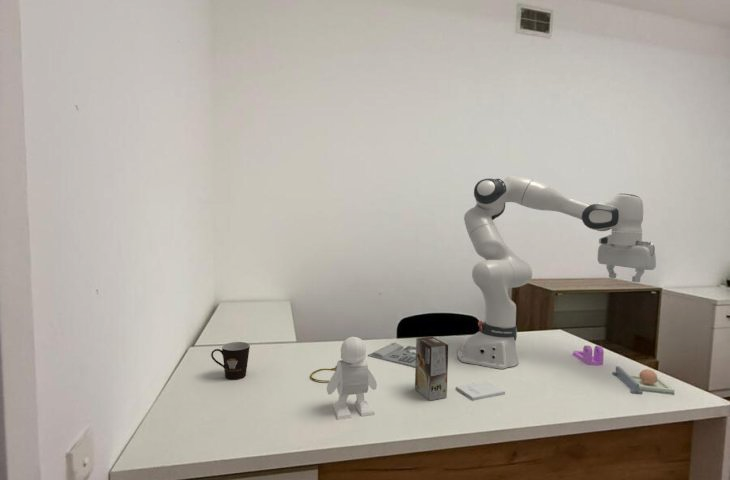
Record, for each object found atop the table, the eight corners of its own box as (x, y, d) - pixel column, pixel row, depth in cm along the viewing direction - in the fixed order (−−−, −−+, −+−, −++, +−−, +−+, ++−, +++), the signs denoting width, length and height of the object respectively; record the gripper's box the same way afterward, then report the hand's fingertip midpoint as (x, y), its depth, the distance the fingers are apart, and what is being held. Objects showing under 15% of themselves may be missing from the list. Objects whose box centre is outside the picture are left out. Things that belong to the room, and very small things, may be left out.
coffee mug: (254, 374, 127) (255, 344, 127) (236, 383, 119) (236, 352, 119) (228, 367, 132) (228, 339, 132) (208, 376, 124) (209, 346, 124)
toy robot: (330, 420, 99) (332, 344, 98) (323, 404, 107) (325, 334, 107) (381, 413, 103) (383, 340, 102) (370, 399, 112) (372, 331, 111)
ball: (641, 385, 126) (641, 370, 126) (637, 381, 130) (637, 366, 130) (659, 387, 124) (659, 372, 124) (655, 382, 128) (654, 368, 128)
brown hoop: (361, 379, 126) (361, 374, 126) (315, 387, 120) (315, 380, 120) (347, 366, 137) (347, 361, 137) (305, 372, 131) (305, 367, 131)
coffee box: (447, 397, 114) (450, 344, 113) (429, 401, 111) (431, 346, 111) (430, 385, 122) (432, 335, 122) (413, 388, 120) (415, 337, 119)
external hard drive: (504, 396, 117) (472, 402, 112) (486, 385, 125) (455, 390, 120) (505, 390, 117) (472, 396, 112) (486, 380, 125) (455, 385, 120)
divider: (631, 392, 121) (632, 383, 121) (612, 374, 136) (612, 365, 136) (642, 394, 120) (642, 384, 120) (621, 375, 136) (622, 366, 136)
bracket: (602, 365, 145) (603, 347, 145) (587, 365, 145) (588, 347, 145) (583, 354, 158) (584, 337, 158) (570, 353, 158) (571, 337, 158)
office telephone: (367, 351, 147) (392, 339, 164) (367, 358, 148) (391, 345, 164) (423, 364, 135) (443, 349, 152) (423, 371, 135) (443, 355, 152)
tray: (638, 390, 123) (638, 386, 123) (625, 378, 133) (625, 374, 133) (674, 394, 121) (674, 390, 121) (658, 382, 130) (658, 378, 130)
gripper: (662, 242, 124) (659, 284, 124) (609, 239, 144) (607, 275, 144) (646, 241, 122) (644, 284, 123) (595, 238, 142) (593, 275, 143)
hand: (623, 279), depth 134 cm, fingers open, 8 cm apart
